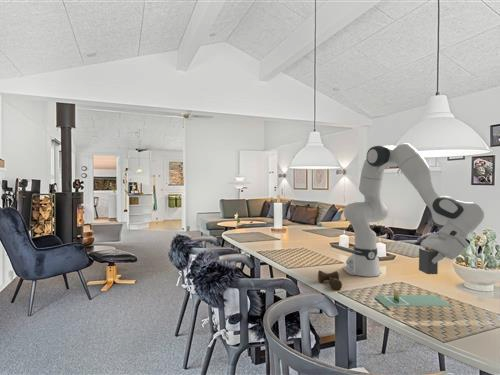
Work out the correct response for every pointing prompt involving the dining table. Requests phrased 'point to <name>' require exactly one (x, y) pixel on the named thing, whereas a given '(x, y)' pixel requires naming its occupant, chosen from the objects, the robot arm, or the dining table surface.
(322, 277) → the kendama
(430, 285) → the dining table surface
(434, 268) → the block
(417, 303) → the board
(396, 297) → the header pins
